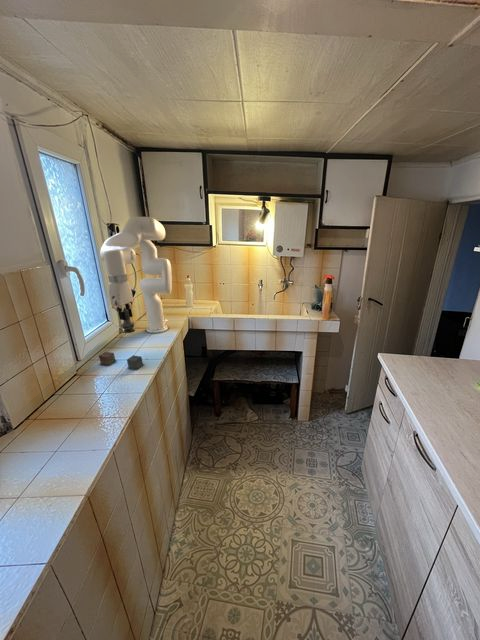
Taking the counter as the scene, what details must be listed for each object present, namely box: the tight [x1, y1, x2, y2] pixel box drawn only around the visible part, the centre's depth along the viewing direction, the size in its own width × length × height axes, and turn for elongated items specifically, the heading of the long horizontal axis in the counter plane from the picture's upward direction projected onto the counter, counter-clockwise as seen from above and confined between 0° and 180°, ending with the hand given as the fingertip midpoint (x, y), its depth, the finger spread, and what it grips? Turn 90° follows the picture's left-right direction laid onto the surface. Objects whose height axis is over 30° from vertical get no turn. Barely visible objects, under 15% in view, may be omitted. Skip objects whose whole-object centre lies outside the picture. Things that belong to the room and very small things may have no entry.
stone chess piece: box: [120, 306, 136, 334], centre depth 131 cm, size 6×6×12 cm
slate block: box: [126, 355, 144, 370], centre depth 129 cm, size 4×4×4 cm
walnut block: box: [98, 351, 116, 366], centre depth 132 cm, size 4×4×4 cm
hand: (126, 317), depth 131 cm, fingers closed on stone chess piece, 3 cm apart
